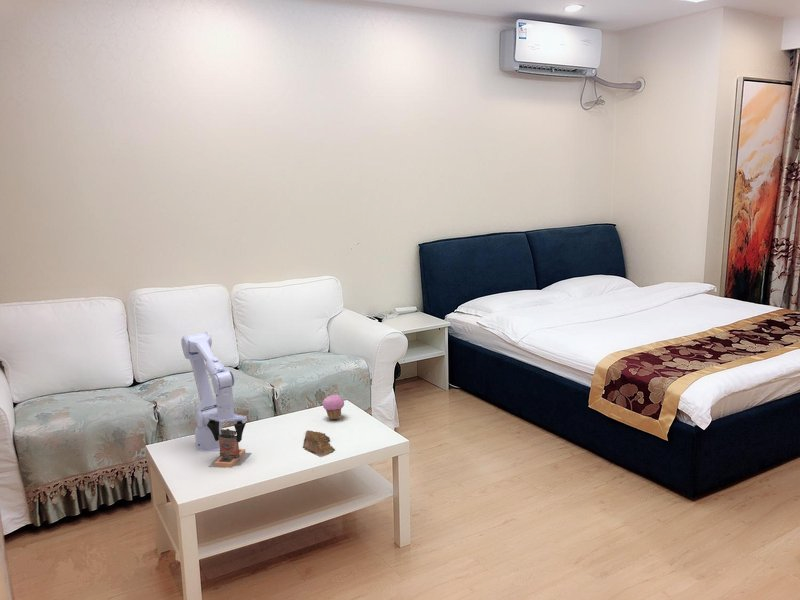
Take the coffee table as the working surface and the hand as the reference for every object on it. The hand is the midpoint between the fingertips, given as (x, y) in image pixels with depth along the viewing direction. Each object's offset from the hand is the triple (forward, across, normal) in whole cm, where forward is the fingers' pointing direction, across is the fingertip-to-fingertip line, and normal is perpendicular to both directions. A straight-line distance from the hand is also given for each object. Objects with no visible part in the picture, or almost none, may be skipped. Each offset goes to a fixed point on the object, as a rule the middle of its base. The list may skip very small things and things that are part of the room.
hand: (228, 440), depth 219 cm
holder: (+8, 0, 0) cm, 8 cm away
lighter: (+6, 0, 0) cm, 6 cm away
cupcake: (+8, +27, +42) cm, 51 cm away
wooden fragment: (+9, +31, +20) cm, 38 cm away
